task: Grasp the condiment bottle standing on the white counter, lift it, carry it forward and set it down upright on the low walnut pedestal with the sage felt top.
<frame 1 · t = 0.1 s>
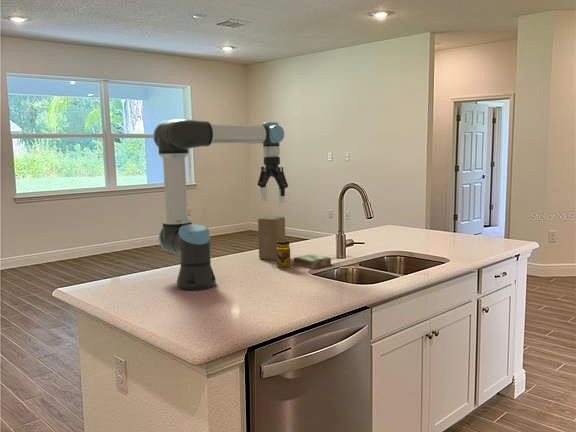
hand: (272, 202, 240), 28 cm above the worktop, fingers open, 13 cm apart
condiment: (283, 267, 230), on the worktop
wooden block: (272, 258, 249), on the worktop
stand: (312, 264, 234), on the worktop
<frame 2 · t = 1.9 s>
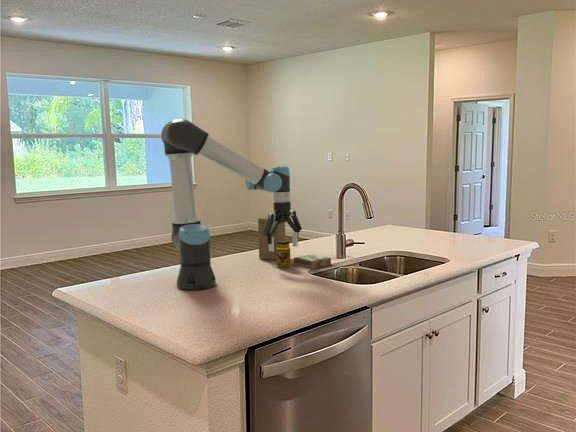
hand: (283, 248, 229), 8 cm above the worktop, fingers open, 13 cm apart
nothing on the worktop moved.
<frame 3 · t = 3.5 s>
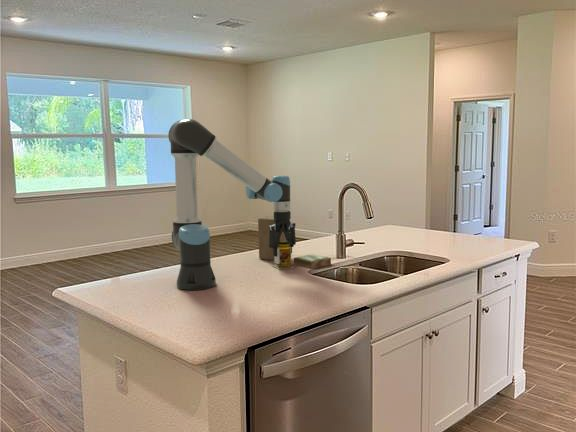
hand: (282, 262, 230), 2 cm above the worktop, fingers closed on condiment, 6 cm apart
condiment: (283, 267, 230), on the worktop, touching gripper
everything else where it was.
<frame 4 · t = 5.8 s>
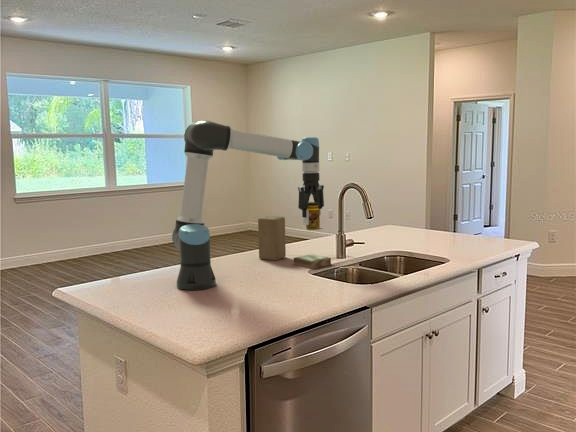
hand: (311, 223, 232), 19 cm above the worktop, fingers closed on condiment, 6 cm apart
condiment: (312, 229, 232), point 16 cm above the worktop, touching gripper
everything else where it was.
when the fingers open (7 cm above the worktop, at t = 8.2 s): condiment drops 2 cm, resting on stand.
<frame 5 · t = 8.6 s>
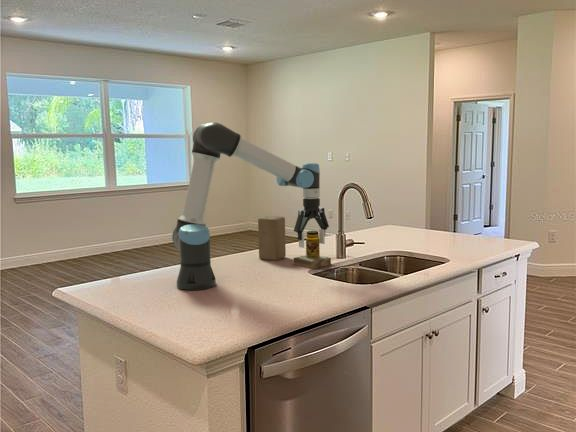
hand: (311, 245, 233), 9 cm above the worktop, fingers open, 12 cm apart
condiment: (312, 257, 234), point 3 cm above the worktop, touching stand
everything else where it was.
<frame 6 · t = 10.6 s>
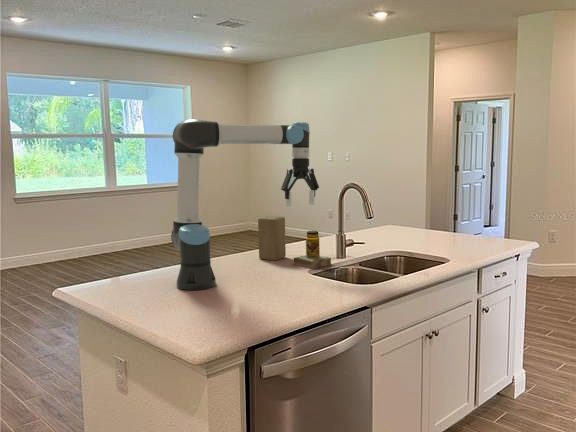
hand: (300, 205, 230), 27 cm above the worktop, fingers open, 13 cm apart
nothing on the worktop moved.
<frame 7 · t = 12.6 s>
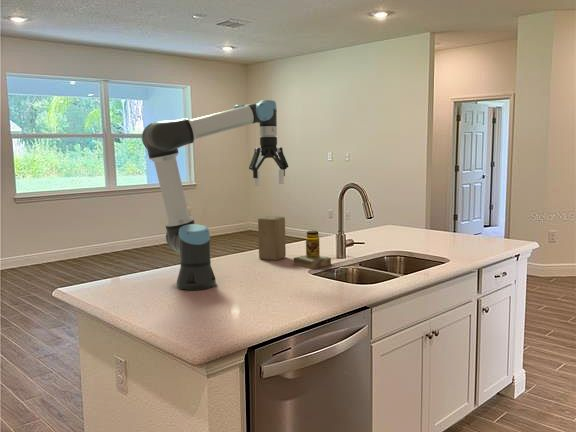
hand: (269, 184, 228), 37 cm above the worktop, fingers open, 13 cm apart
nothing on the worktop moved.
at the end: condiment inside the target area on the stand (0.1 cm from its centre), point 3.1 cm above the stand's base; condiment tilted 0°; the gripper is holding nothing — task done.
